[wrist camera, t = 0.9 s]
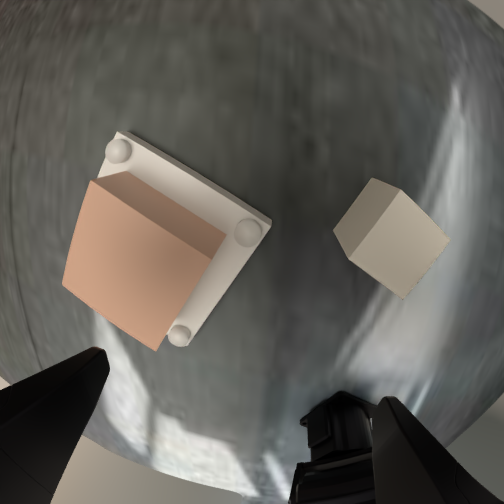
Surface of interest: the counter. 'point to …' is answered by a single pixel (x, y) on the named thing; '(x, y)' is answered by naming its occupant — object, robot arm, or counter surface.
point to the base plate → (207, 208)
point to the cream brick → (390, 237)
